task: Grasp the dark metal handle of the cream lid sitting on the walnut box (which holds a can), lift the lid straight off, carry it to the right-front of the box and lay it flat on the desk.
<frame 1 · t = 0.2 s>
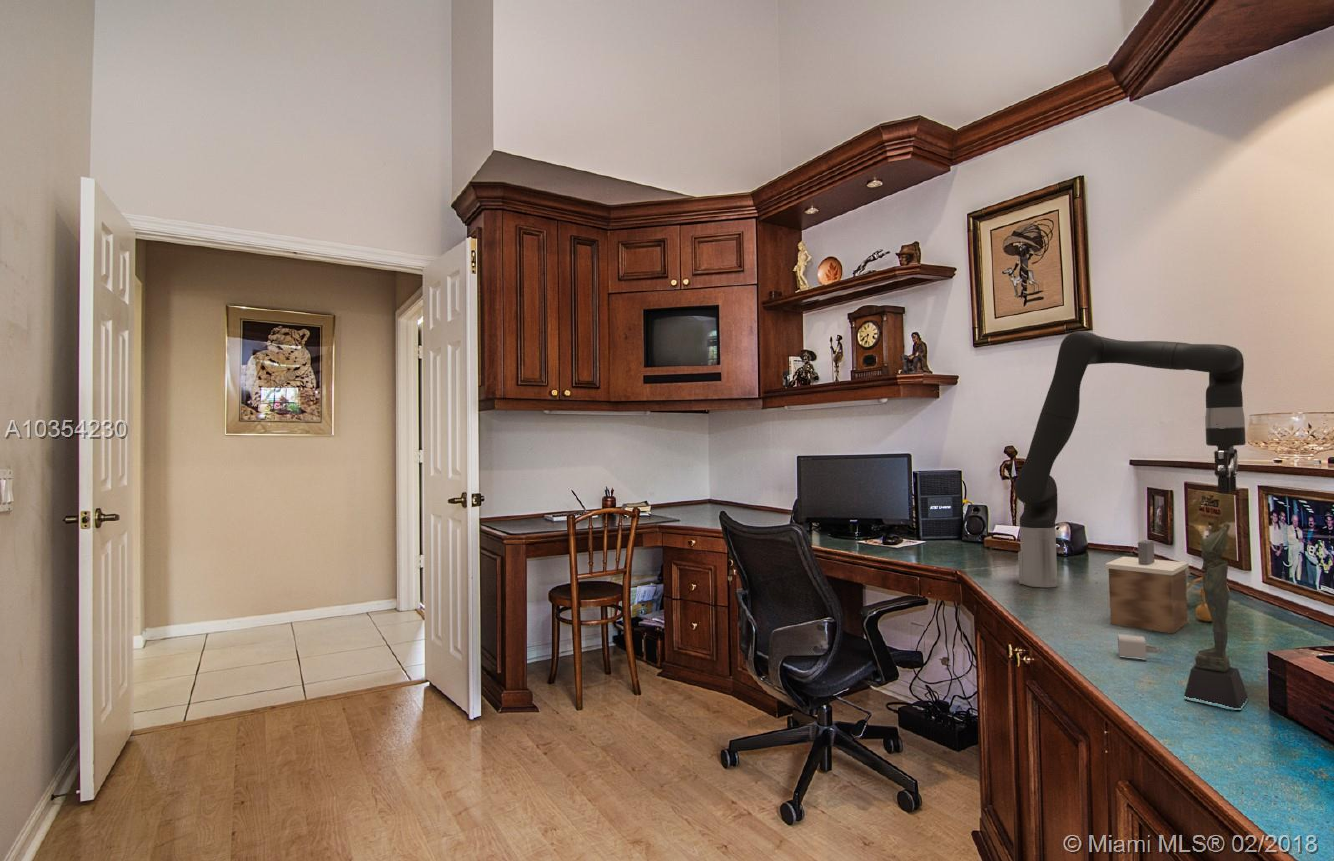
hand: (1227, 492, 167), 29 cm above the table, tool pointing down, fingers open, 8 cm apart
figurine: (1208, 623, 158), on the table
box: (1148, 623, 158), on the table
lid: (1146, 567, 158), point 13 cm above the table, touching box
usb wall charger: (1140, 659, 135), on the table
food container: (1175, 603, 176), on the table
statue: (1215, 701, 113), on the table
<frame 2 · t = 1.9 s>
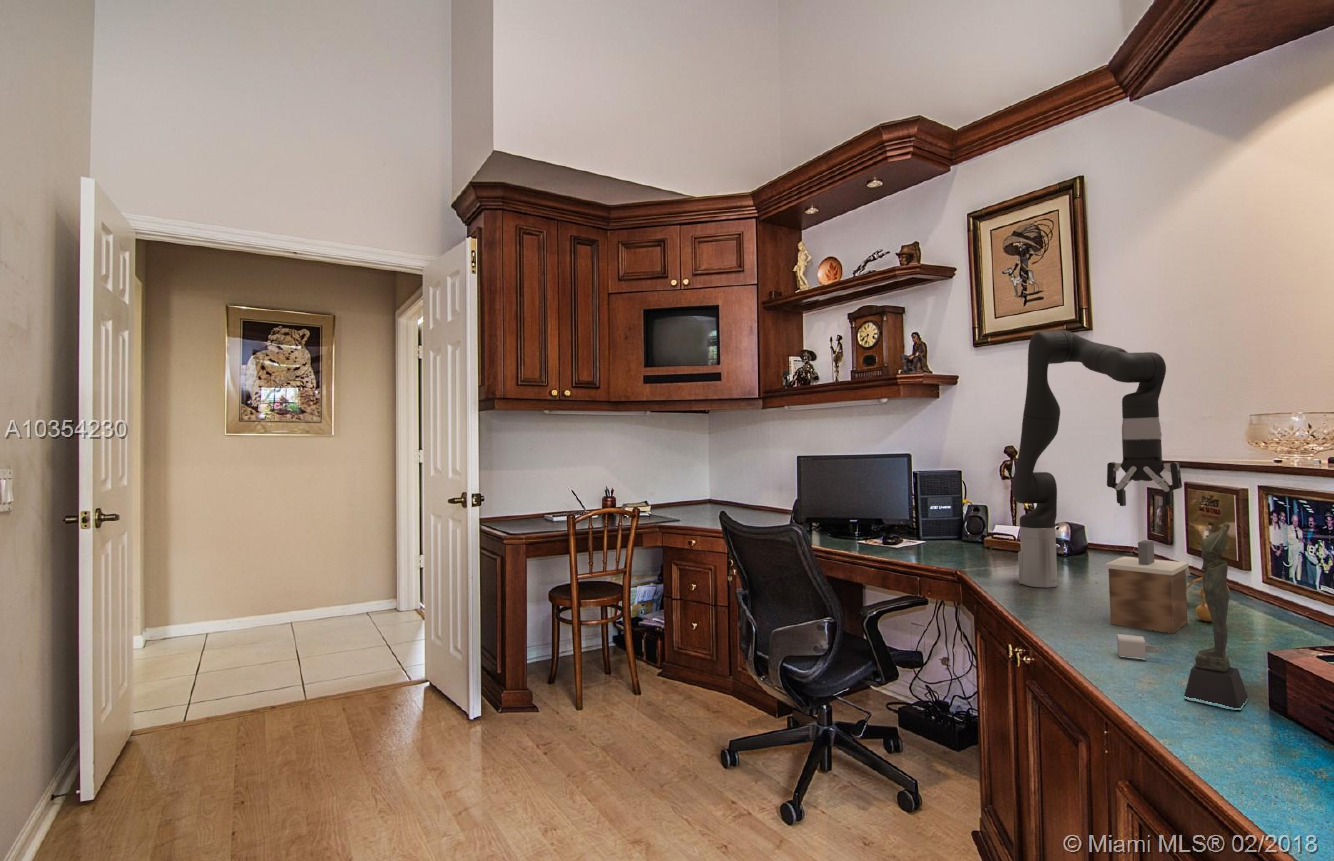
hand: (1144, 506, 158), 27 cm above the table, tool pointing down, fingers open, 8 cm apart
nothing on the table moved.
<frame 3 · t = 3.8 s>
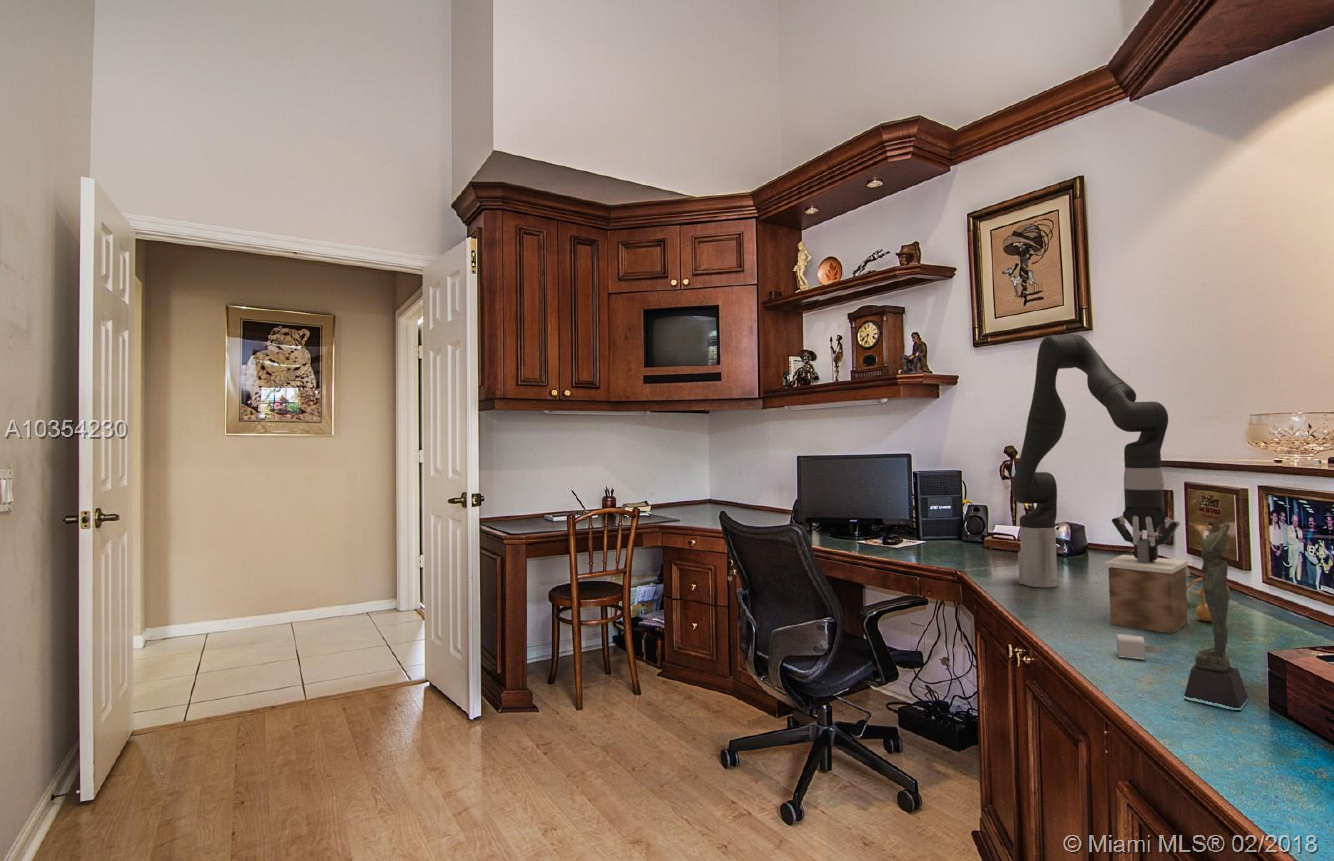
hand: (1146, 561, 158), 14 cm above the table, tool pointing down, fingers closed on lid
lid: (1146, 565, 158), point 13 cm above the table, touching gripper
everything else where it was.
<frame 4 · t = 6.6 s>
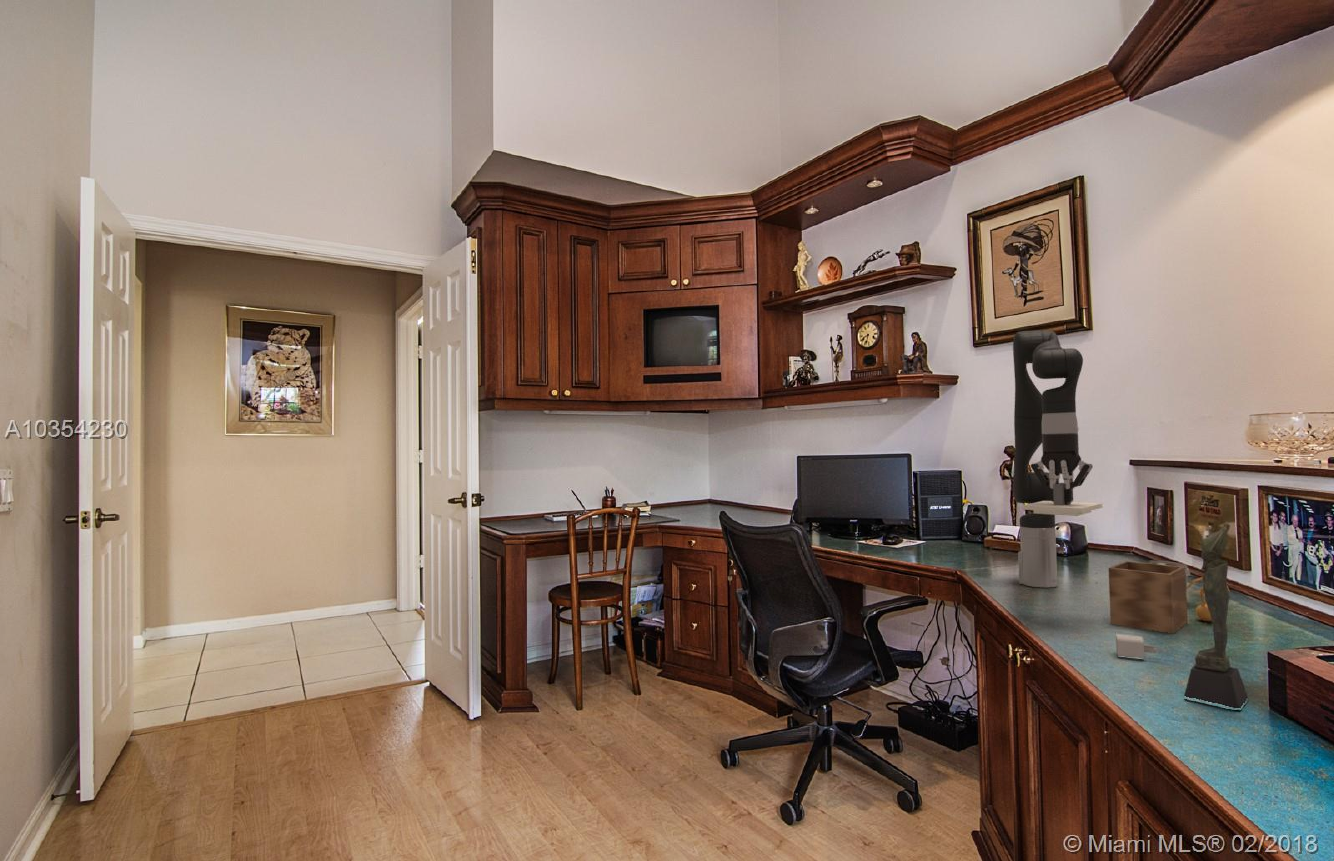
hand: (1062, 504, 163), 28 cm above the table, tool pointing down, fingers closed on lid
lid: (1062, 508, 163), point 27 cm above the table, touching gripper
everything else where it was.
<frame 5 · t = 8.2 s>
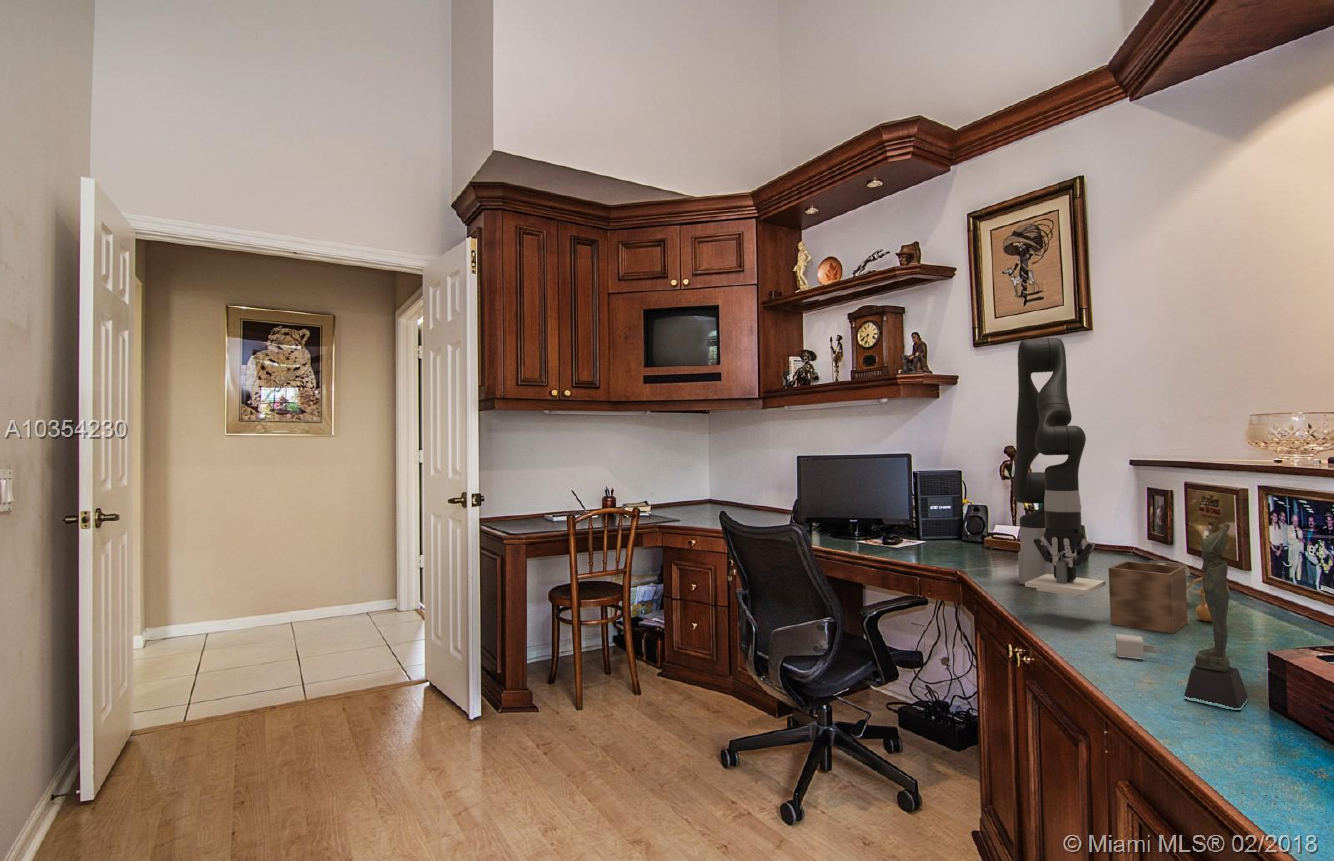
hand: (1065, 581, 162), 9 cm above the table, tool pointing down, fingers closed on lid
lid: (1065, 585, 162), point 8 cm above the table, touching gripper
everything else where it was.
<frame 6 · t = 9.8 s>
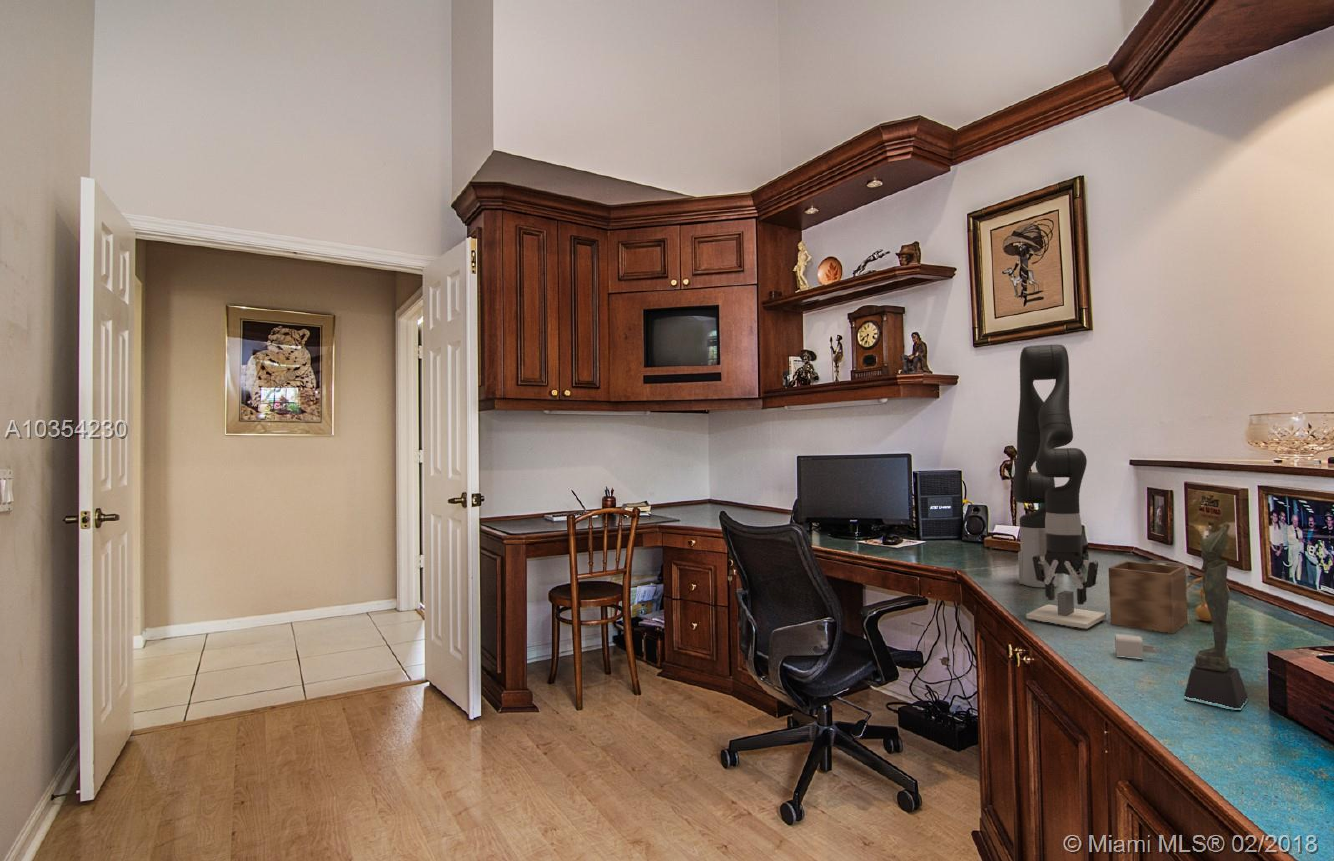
hand: (1065, 601, 162), 5 cm above the table, tool pointing down, fingers open, 6 cm apart
lid: (1066, 617, 162), point 1 cm above the table
everything else where it was.
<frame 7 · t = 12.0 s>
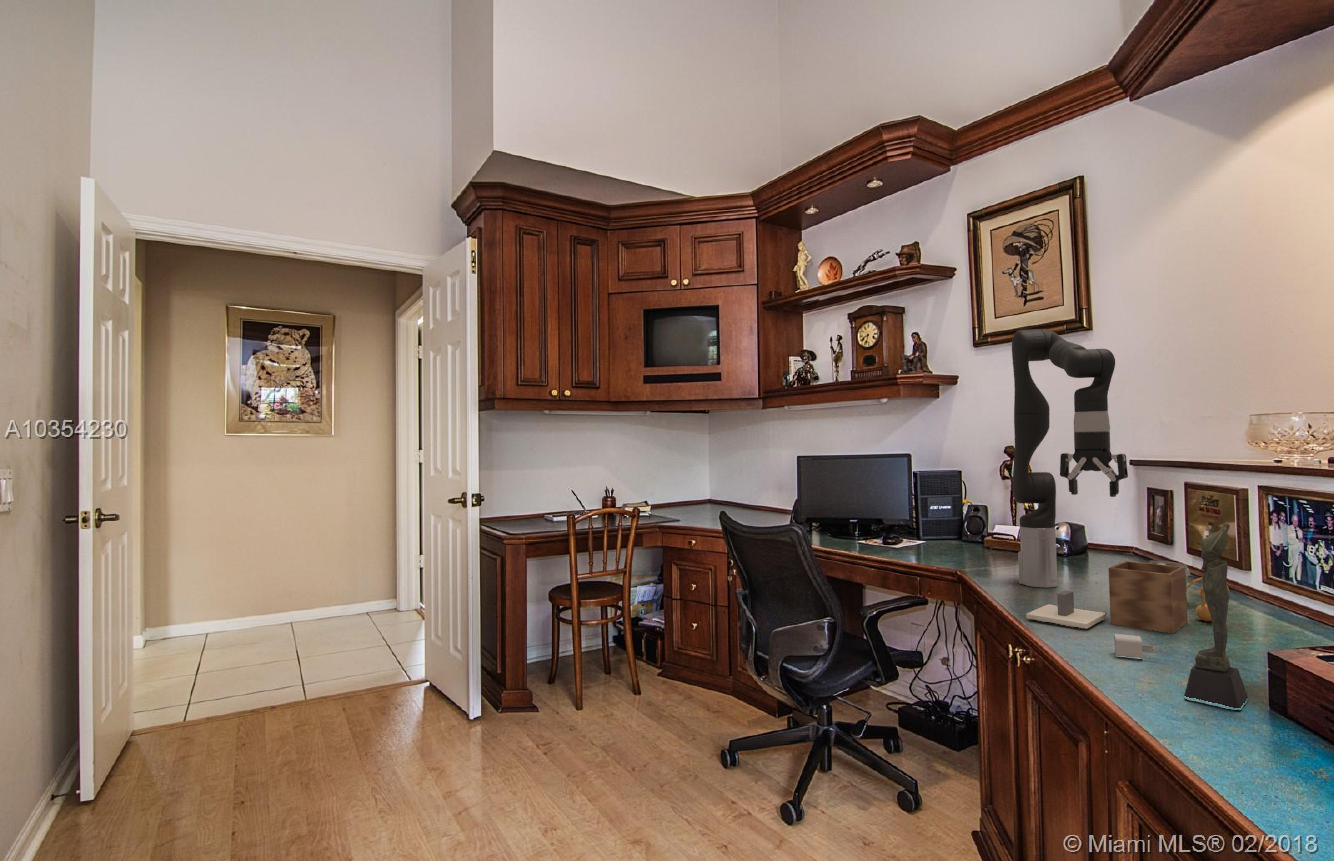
hand: (1093, 495, 168), 29 cm above the table, tool pointing down, fingers open, 8 cm apart
nothing on the table moved.
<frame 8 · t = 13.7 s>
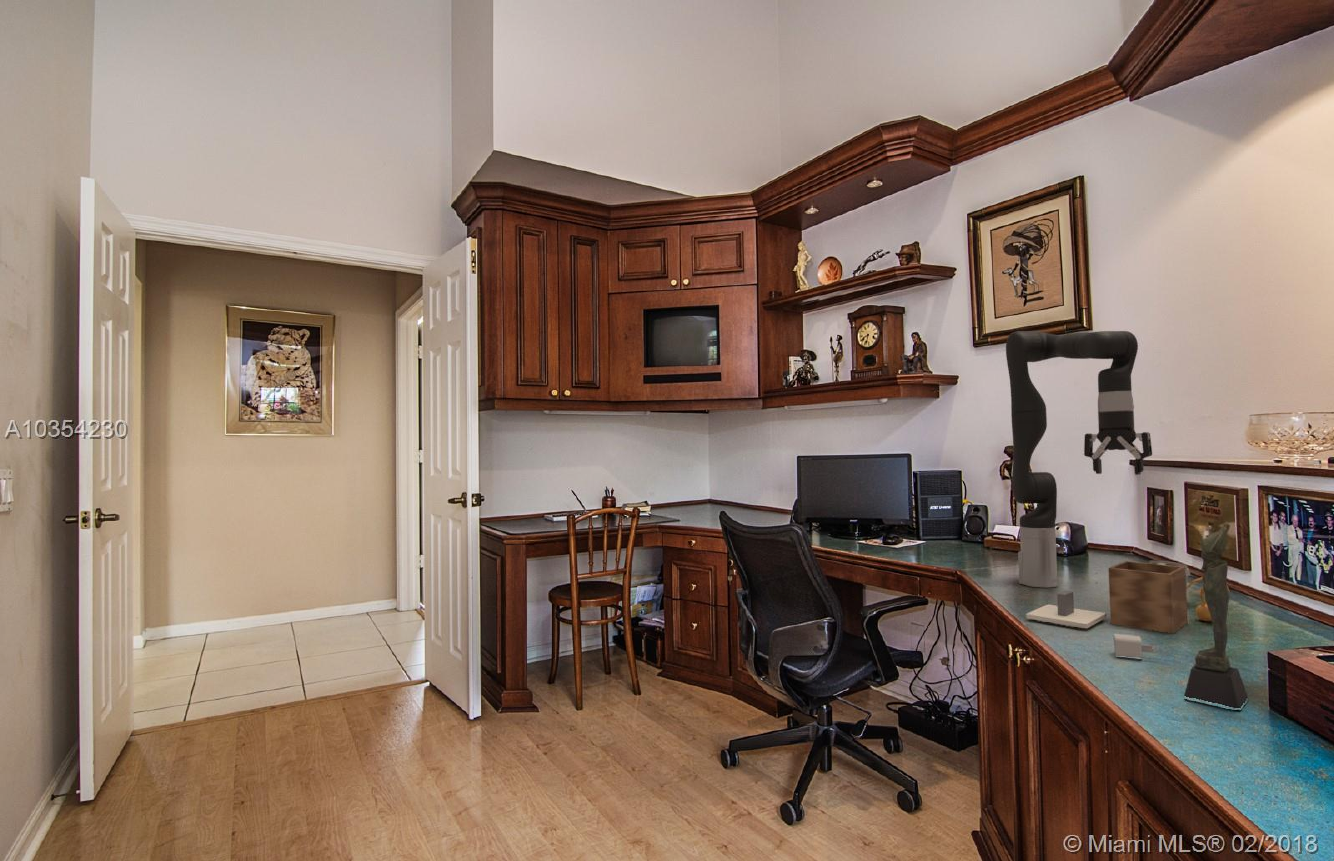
hand: (1118, 474, 171), 34 cm above the table, tool pointing down, fingers open, 8 cm apart
nothing on the table moved.
at the end: lid inside the target area (0.1 cm from its centre), point 0.7 cm above the table; lid tilted 0°; the gripper is holding nothing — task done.
